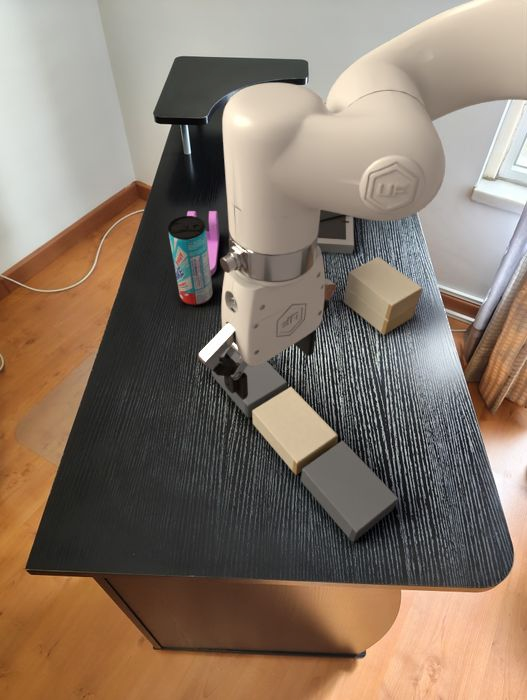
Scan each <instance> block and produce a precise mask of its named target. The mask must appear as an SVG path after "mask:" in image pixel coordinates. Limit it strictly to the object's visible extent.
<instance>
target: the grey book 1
mask: <svg viewBox="0 0 527 700" xmlns="http://www.w3.org/2000/svg"><path fill="white" fill-rule="evenodd" d="M239 358H240V355H239V354H238V353H237V352H236V351H235V352H234V354H233V356H232V358H231V359H233V360H234V361H235V362H236V363H237V361H238V360H239ZM210 371H211V376H212V377H213V379H215V381H216V382H217V383H218V384H219V386H220V387H221V388H222V389H223V390H224V392H225V393H226V394H227V395H228V396H229V397H230V399H231V400H232V402H233V403H235V405H236V406H237V407H238V408H239V409H240V411H241V412H242V413H243V415H244V416H246V418H247V419H249V420H250V419H251V418H253V417H252V410H254V409H256V408H257V407H259V406H260V405H262V404H264V403H265V402H267V401H269V400H270V399H272V398H273V397H275V396H277V395H278V394H280V393H282V392H283V391H285V390H287V389H288V382H287V380H286V379H285V378H284V377H283V375H281V374H280V373H279V371H277V370H276V369H275V368H274V367H273V366H272V365H271V363H269V362H268V361H266V362H264V363H262V364H259V365H256V366H249V365H248V366H247V367H246V369H245V371H244V373H245V374H246V375H247V382H248V396H247V398H245V399H244V400H242V399H241V398H240V397H239V396H238V395H237V394H236V393H231V392H230V391H229V390H228V389H227V388H226V386H225V383H224V376H220V375H217V374H216V373H215V372H213V371H212V370H210Z"/></svg>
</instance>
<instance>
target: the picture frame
mask: <svg viewBox="0 0 527 700" xmlns="http://www.w3.org/2000/svg"><path fill="white" fill-rule="evenodd" d="M354 231H355V230H354V217H352V216H347V215H343V214H339V213H334V212H330V211H325V210H321V211H320V220H319V230H318V239H317V245H318V246H319V247H320V249H321V253H334V254H348V255H351V254H353V253H354V248H355V234H354Z"/></svg>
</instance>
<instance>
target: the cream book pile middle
mask: <svg viewBox="0 0 527 700" xmlns="http://www.w3.org/2000/svg"><path fill="white" fill-rule="evenodd" d="M345 287H346V288H348V289H349V290H350V291H351V292H353V293H354V294H355V295H356V296H358V297H359V298H360V299H361V300H363V301H364V302H365V303H367V304H368V305H369V306H370V307H372V308H373V309H374V310H375V311H377V312H378V313H379V314H380V315H382V316H383V317H384V318H385V319H387V320H390V319H391V318H393V317H395V316H396V315H398V314H400V313H401V312H403V311H405V310H406V309H408V308H410V307H411V306H413V305H415V304H416V303H417V304H418V303H419V301H420V297H421V295H422V291H423V287H422V286H420V285H419V284H418V283H416V282H415V281H413V280H412V279H410V278H409V277H408V276H406V275H405V274H404V273H402V272H401V271H399V270H398V269H397V268H395V267H394V266H392V265H391V264H389V263H388V262H386V261H385V260H383V258H381V257H380V256H377V257H374V258H373V259H372V260H369V261H367V262H365V263H364V264H362V265H359V266H358V267H356V268H354V269H352V270H350V271H349V272H348V276H347V281H346V286H345ZM346 288H345V289H346Z"/></svg>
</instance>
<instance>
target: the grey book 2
mask: <svg viewBox="0 0 527 700" xmlns="http://www.w3.org/2000/svg"><path fill="white" fill-rule="evenodd" d="M300 482H301V483H302V485H304V487H305V488H306V489H307V490H308V491H309V493H310V494H311V495H312V496H313V497H314V498H315V500H316V501H317V502H318V503H319V504H320V506H321V507H322V508H323V509H324V510H325V512H326V513H327V514H328V516H330V518H331V519H332V521H334V522H335V523H336V525H337V526H338V527H339V528H340V529H341V530H342V532H343V533H344V534H345V536H347V538H348V539H349V540H350V542H352V543H355V542H356V541H357V540H358V539H360V538H361V537H362V536H363V535H365V534H366V533H367V532H368V531H369V530H371V529H372V528H373V527H375V526H376V524H378V523H379V522H380V521H382V519H384V518H385V517H386V516H387V515H388V514H390V513H391V512H392V511H394V509H395V507H396V505H397V503H398V501H399V498H398V496H397V495H396V494H395V493H394V492H393V491H392V490H391V489H390V488H389V487H388V486H387V485H386V484H385V483H384V482H383V481H382V480H381V479H380V478H379V476H378V475H376V473H375V472H373V470H372V469H371V468H370V467H369V466H368V465H367V464H366V463H365V462H364V461H363V460H362V458H360V457H359V456H358V455H357V453H356V452H354V451H353V449H352V448H351V447H350V446H349V445H348V444H347V443H346V441H344V440H341V441H340V442H338V443H336V445H335V446H334V447H333V448H331V449H330V450H328V451H327V452H325V453H324V454H323V455H321V456H320V457H318V458H317V459H316V460H314V461H313V462H311V463H310V464H308V465H307V466H306V467H304V468H303V469H302V471H301V477H300Z"/></svg>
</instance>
